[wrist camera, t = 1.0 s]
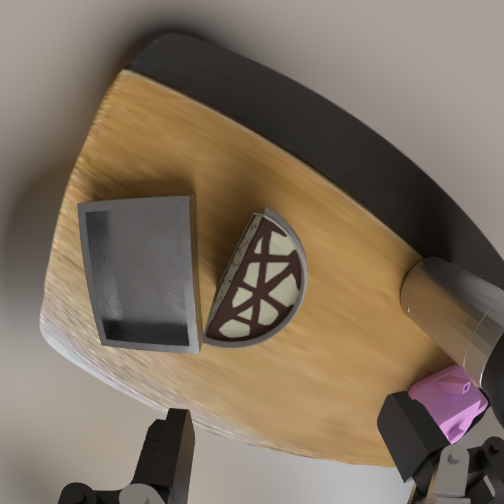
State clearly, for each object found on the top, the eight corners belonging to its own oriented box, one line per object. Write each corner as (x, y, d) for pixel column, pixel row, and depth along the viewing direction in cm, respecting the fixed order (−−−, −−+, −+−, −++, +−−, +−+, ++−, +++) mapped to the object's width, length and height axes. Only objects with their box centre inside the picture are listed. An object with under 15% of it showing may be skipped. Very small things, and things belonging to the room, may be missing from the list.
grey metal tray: (195, 194, 28) (189, 195, 24) (203, 337, 32) (199, 353, 29) (93, 200, 27) (77, 203, 24) (112, 331, 32) (101, 345, 28)
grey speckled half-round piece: (259, 319, 32) (266, 372, 22) (211, 298, 31) (199, 347, 21) (310, 224, 29) (342, 246, 19) (259, 199, 28) (268, 208, 19)
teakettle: (417, 430, 41) (439, 468, 29) (373, 420, 38) (396, 470, 26) (471, 372, 38) (502, 406, 26) (438, 349, 35) (480, 392, 23)
